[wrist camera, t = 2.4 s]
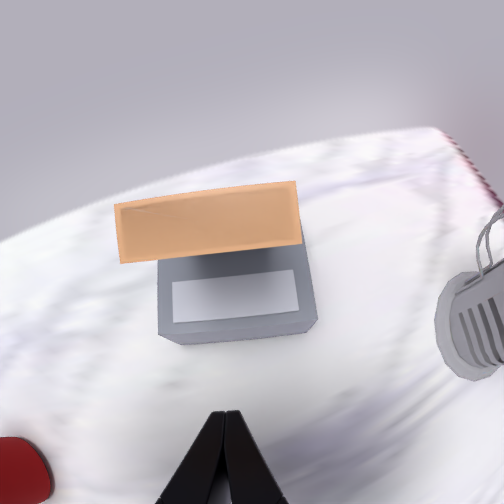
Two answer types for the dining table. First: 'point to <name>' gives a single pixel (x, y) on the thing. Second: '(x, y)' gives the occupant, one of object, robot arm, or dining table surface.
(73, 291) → the dining table surface
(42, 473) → the beverage can
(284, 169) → the dining table surface
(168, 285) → the switch box
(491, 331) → the french press
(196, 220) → the lever
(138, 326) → the dining table surface
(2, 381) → the dining table surface
